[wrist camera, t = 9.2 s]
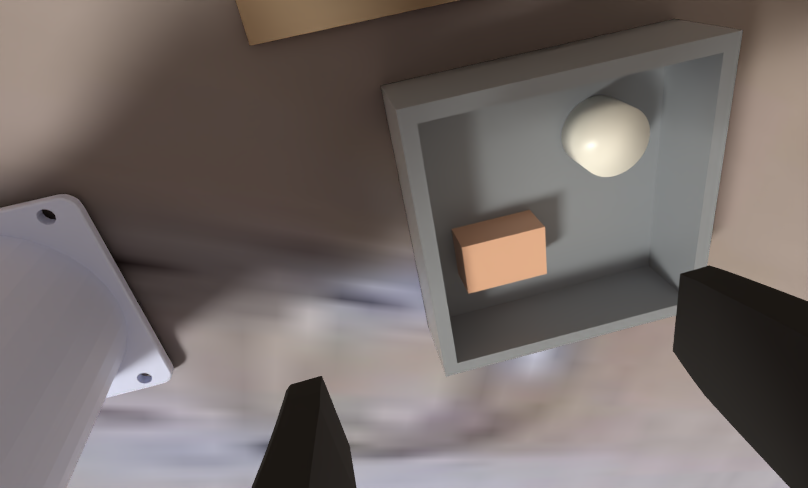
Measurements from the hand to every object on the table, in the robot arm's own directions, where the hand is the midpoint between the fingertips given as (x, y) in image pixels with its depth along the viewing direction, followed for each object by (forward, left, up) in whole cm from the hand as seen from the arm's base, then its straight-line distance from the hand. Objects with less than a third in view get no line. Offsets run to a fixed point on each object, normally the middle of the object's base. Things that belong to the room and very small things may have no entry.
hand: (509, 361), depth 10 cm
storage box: (+4, -1, -9) cm, 10 cm away
